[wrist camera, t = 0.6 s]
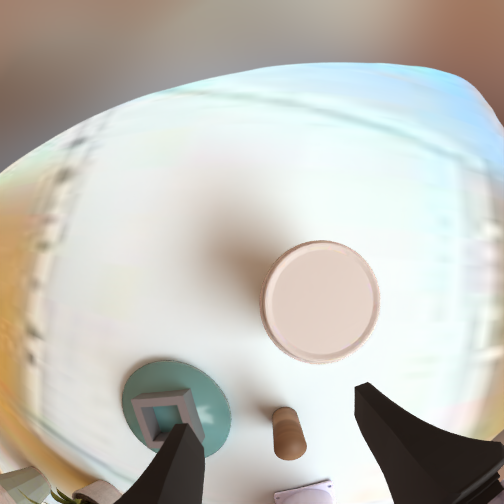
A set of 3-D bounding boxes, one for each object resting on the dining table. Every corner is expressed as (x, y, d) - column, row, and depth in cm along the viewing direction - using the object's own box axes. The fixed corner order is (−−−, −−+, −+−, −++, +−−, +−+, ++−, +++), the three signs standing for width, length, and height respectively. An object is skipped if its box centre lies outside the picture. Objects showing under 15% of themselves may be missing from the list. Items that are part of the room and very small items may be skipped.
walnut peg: (299, 425, 27) (309, 456, 19) (275, 430, 27) (277, 463, 19) (294, 404, 28) (303, 432, 20) (269, 410, 28) (271, 439, 20)
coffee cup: (320, 357, 29) (352, 383, 17) (247, 324, 30) (236, 333, 18) (353, 285, 30) (400, 269, 19) (283, 251, 32) (293, 217, 20)
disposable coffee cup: (19, 450, 26) (-27, 467, 11) (54, 474, 25) (7, 501, 10) (31, 484, 23) (-8, 504, 9) (66, 507, 23) (27, 536, 8)
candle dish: (243, 452, 27) (241, 468, 23) (144, 457, 27) (133, 470, 23) (214, 352, 30) (207, 357, 26) (113, 366, 30) (97, 371, 26)
